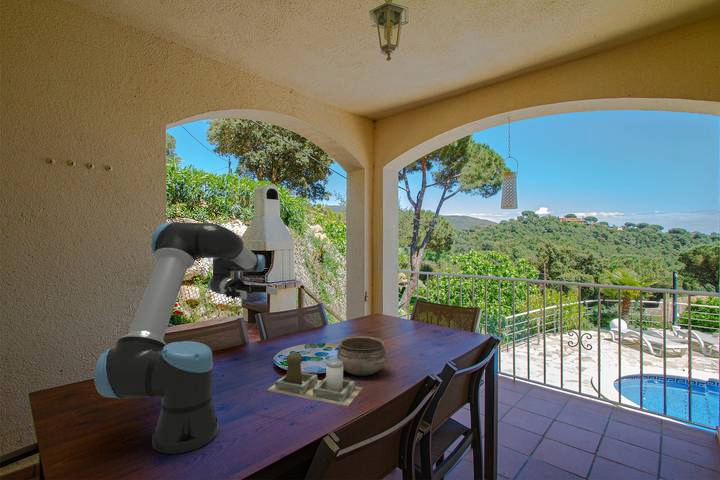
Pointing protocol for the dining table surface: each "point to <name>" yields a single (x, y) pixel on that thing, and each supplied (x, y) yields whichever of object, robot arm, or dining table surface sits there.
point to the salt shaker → (334, 375)
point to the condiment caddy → (317, 390)
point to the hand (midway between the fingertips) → (261, 293)
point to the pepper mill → (294, 368)
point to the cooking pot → (362, 355)
